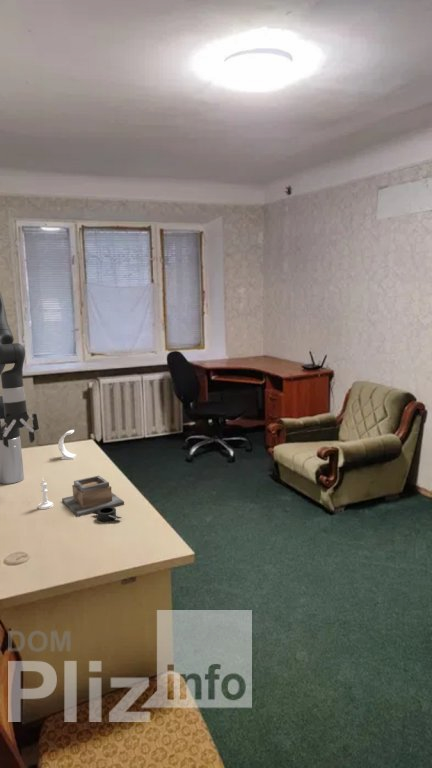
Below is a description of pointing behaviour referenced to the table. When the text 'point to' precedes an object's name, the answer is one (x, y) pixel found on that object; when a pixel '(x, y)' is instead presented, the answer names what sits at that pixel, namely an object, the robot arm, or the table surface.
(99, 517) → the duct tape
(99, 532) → the table surface
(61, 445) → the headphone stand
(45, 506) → the chess piece
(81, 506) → the pedestal
